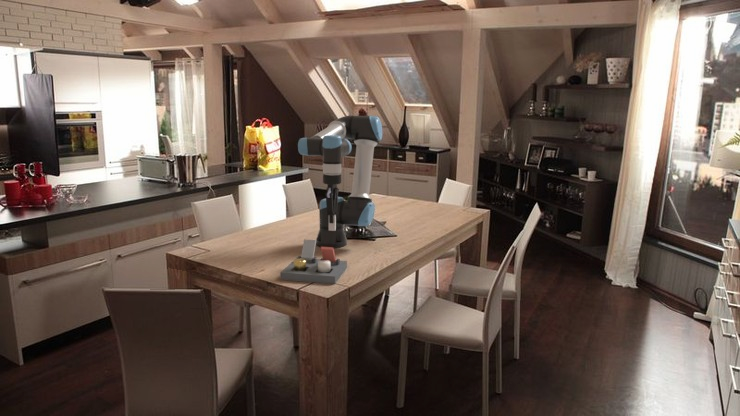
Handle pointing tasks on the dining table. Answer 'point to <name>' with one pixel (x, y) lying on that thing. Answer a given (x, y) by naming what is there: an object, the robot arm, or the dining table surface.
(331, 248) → the paddle red
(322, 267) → the button white
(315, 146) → the robot arm
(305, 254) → the paddle grey
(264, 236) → the dining table surface
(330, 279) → the panel
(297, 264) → the button brass
